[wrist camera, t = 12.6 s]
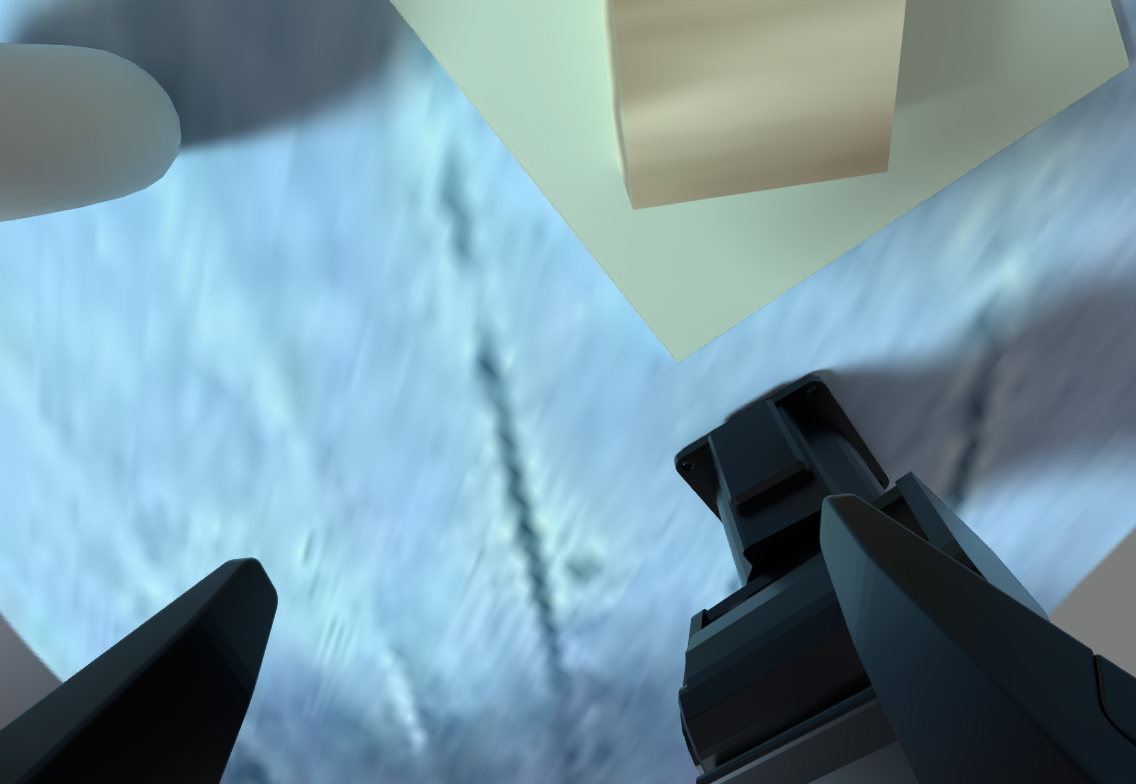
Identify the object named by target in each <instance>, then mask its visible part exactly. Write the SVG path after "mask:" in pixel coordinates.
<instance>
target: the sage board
mask: <svg viewBox="0 0 1136 784" xmlns="http://www.w3.org/2000/svg"><path fill="white" fill-rule="evenodd" d="M390 1H391V3H392V4H393V5H394V7H395V8H396V9H397V10H398V12H399V13H400V14H401V15H402V17H403V18H404V19H405V20H406V22H407V23H408V24H409V25H410V27H411V28H412V29H413V30H414V32H415V33H416V34H417V36H418V37H419V38H420V39H421V41H422V42H423V43H424V44H425V46H426V47H427V48H428V49H429V51H430V52H431V53H432V54H433V56H434V57H435V58H436V60H437V61H438V62H439V63H440V65H441V66H442V67H443V68H444V70H445V71H446V72H447V73H448V75H449V76H450V77H451V78H452V80H453V81H454V82H455V83H456V85H457V86H458V87H459V89H460V90H461V91H462V92H463V94H464V95H465V96H466V97H467V99H468V100H469V101H470V102H471V104H472V105H473V106H474V107H475V109H476V110H477V111H478V112H479V114H480V115H481V116H482V118H483V119H484V120H485V121H486V123H487V124H488V125H489V126H490V128H491V129H492V130H493V131H494V133H495V134H496V135H497V136H498V138H499V139H500V140H501V141H502V143H503V144H504V145H505V147H506V148H507V149H508V150H509V152H510V153H511V154H512V155H513V157H514V158H515V159H516V160H517V162H518V163H519V164H520V165H521V167H522V168H523V169H524V170H525V172H526V173H527V174H528V176H529V177H530V178H531V179H532V181H533V182H534V183H535V184H536V186H537V187H538V188H539V189H540V191H541V192H542V193H543V194H544V196H545V197H546V198H547V199H548V201H549V202H550V203H551V205H552V206H553V207H554V208H555V210H556V211H557V212H558V213H559V215H560V216H561V217H562V218H563V220H564V221H565V222H566V223H567V225H568V226H569V227H570V229H571V230H572V231H573V232H574V234H575V235H576V236H577V237H578V239H579V240H580V241H581V242H582V244H583V245H584V246H585V247H586V249H587V250H588V251H589V252H590V254H591V255H592V256H593V258H594V259H595V260H596V261H597V263H598V264H599V265H600V266H601V268H602V269H603V270H604V271H605V273H606V274H607V275H608V276H609V278H610V279H611V280H612V281H613V283H614V284H615V285H616V287H617V288H618V289H619V290H620V292H621V293H622V294H623V295H624V297H625V298H626V299H627V300H628V302H629V303H630V304H631V305H632V307H633V308H634V309H635V310H636V312H637V313H638V314H639V316H640V317H641V318H642V319H643V321H644V322H645V323H646V324H647V326H648V327H649V328H650V329H651V331H652V332H653V333H654V334H655V336H656V337H657V338H658V339H659V341H660V342H661V343H662V345H663V346H664V347H665V348H666V350H667V351H668V352H669V353H670V355H671V356H672V357H673V358H674V360H675V361H676V362H677V363H678V362H680V361H681V360H683V359H685V358H686V357H688V356H689V355H691V354H692V353H694V352H695V351H697V350H698V349H700V348H701V347H703V346H704V345H706V344H707V343H709V342H710V341H712V340H713V339H715V338H717V337H718V336H720V335H721V334H723V333H724V332H726V331H727V330H729V329H730V328H732V327H733V326H735V325H736V324H738V323H739V322H741V321H742V320H744V319H745V318H747V317H749V316H750V315H752V314H753V313H755V312H756V311H758V310H759V309H761V308H762V307H764V306H765V305H767V304H768V303H770V302H771V301H773V300H774V299H776V298H777V297H779V296H781V295H782V294H784V293H785V292H787V291H788V290H790V289H791V288H793V287H794V286H796V285H797V284H799V283H800V282H802V281H803V280H805V279H806V278H808V277H809V276H811V275H813V274H814V273H816V272H817V271H819V270H820V269H822V268H823V267H825V266H826V265H828V264H829V263H831V262H832V261H834V260H835V259H837V258H838V257H840V256H841V255H843V254H845V253H846V252H848V251H849V250H851V249H852V248H854V247H855V246H857V245H858V244H860V243H861V242H863V241H864V240H866V239H867V238H869V237H870V236H872V235H873V234H875V233H877V232H878V231H880V230H881V229H883V228H884V227H886V226H887V225H889V224H890V223H892V222H893V221H895V220H896V219H898V218H899V217H901V216H902V215H904V214H905V213H907V212H909V211H910V210H912V209H913V208H915V207H916V206H918V205H919V204H921V203H922V202H924V201H925V200H927V199H928V198H930V197H931V196H933V195H934V194H936V193H937V192H939V191H941V190H942V189H944V188H945V187H947V186H948V185H950V184H951V183H953V182H954V181H956V180H957V179H959V178H960V177H962V176H963V175H965V174H966V173H968V172H969V171H971V170H973V169H974V168H976V167H977V166H979V165H980V164H982V163H983V162H985V161H986V160H988V159H989V158H991V157H992V156H994V155H995V154H997V153H998V152H1000V151H1001V150H1003V149H1005V148H1006V147H1008V146H1009V145H1011V144H1012V143H1014V142H1015V141H1017V140H1018V139H1020V138H1021V137H1023V136H1024V135H1026V134H1027V133H1029V132H1030V131H1032V130H1034V129H1035V128H1037V127H1038V126H1040V125H1041V124H1043V123H1044V122H1046V121H1047V120H1049V119H1050V118H1052V117H1053V116H1055V115H1056V114H1058V113H1059V112H1061V111H1062V110H1064V109H1066V108H1067V107H1069V106H1070V105H1072V104H1073V103H1075V102H1076V101H1078V100H1079V99H1081V98H1082V97H1084V96H1085V95H1087V94H1088V93H1090V92H1091V91H1093V90H1094V89H1096V88H1098V87H1099V86H1101V85H1102V84H1104V83H1105V82H1107V81H1108V80H1110V79H1111V78H1113V77H1114V76H1116V75H1117V74H1119V73H1120V72H1122V71H1123V70H1125V69H1126V68H1128V67H1130V64H1129V61H1128V57H1127V54H1126V50H1125V47H1124V44H1123V40H1122V37H1121V33H1120V30H1119V27H1118V23H1117V20H1116V17H1115V13H1114V10H1113V6H1112V3H1111V0H906V8H905V17H904V26H903V35H902V44H901V53H900V63H899V72H898V81H897V90H896V99H895V108H894V117H893V126H892V136H891V145H890V154H889V163H888V172H883V173H877V174H870V175H863V176H857V177H850V178H843V179H837V180H830V181H823V182H817V183H810V184H803V185H797V186H790V187H783V188H777V189H770V190H763V191H757V192H750V193H743V194H736V195H730V196H723V197H716V198H710V199H703V200H696V201H690V202H683V203H676V204H670V205H663V206H656V207H650V208H643V209H636V210H633V208H632V205H631V202H630V199H629V197H628V194H627V191H626V188H625V185H624V182H623V179H622V176H621V173H620V170H619V168H618V159H617V150H616V140H615V130H614V121H613V111H612V101H611V92H610V82H609V72H608V63H607V53H606V44H605V34H604V24H603V15H602V5H601V0H390Z"/></svg>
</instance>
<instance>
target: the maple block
mask: <svg viewBox="0 0 1136 784" xmlns="http://www.w3.org/2000/svg"><path fill="white" fill-rule="evenodd" d="M601 5H602V15H603V24H604V34H605V44H606V53H607V63H608V72H609V82H610V92H611V101H612V111H613V121H614V130H615V140H616V150H617V159H618V168H619V170H620V173H621V176H622V179H623V182H624V185H625V188H626V191H627V194H628V197H629V199H630V202H631V205H632V208H633V210H636V209H643V208H650V207H656V206H663V205H670V204H676V203H683V202H690V201H696V200H703V199H710V198H716V197H723V196H730V195H736V194H743V193H750V192H757V191H763V190H770V189H777V188H783V187H790V186H797V185H803V184H810V183H817V182H823V181H830V180H837V179H843V178H850V177H857V176H863V175H870V174H877V173H883V172H888V163H889V154H890V145H891V136H892V126H893V117H894V108H895V99H896V90H897V81H898V72H899V63H900V53H901V44H902V35H903V26H904V17H905V8H906V0H601Z"/></svg>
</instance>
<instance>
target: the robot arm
mask: <svg viewBox="0 0 1136 784" xmlns="http://www.w3.org/2000/svg"><path fill="white" fill-rule="evenodd" d="M811 387H816V390H814V391H813V392H811V393H807V390H808V389H809V388H811ZM686 461H692V463H691V464H689V465H683V463H684V462H686ZM674 463H675V467H676V470H677V472H678V473H679V474H680V475H681V476H682V477H683V479H684V480H685V481H686V482H687V483H688V484H689V485H690V487H691V488H692V489H693V490H694V491H695V492H696V493H697V495H698V496H699V497H700V498H701V499H702V500H703V501H704V502H705V504H706V505H707V506H708V507H709V508H710V509H711V510H712V512H713V513H714V514H715V515H716V516H717V517H718V518H719V520H720V521H721V522H722V523H723V526H724V529H725V532H726V536H727V539H728V542H729V545H730V549H731V552H732V555H733V558H734V562H735V565H736V568H737V571H738V575H739V578H740V581H741V585H742V588H741V589H739V590H738V591H736V592H735V593H733V594H732V595H730V596H729V597H727V598H726V599H724V600H723V601H721V602H720V603H718V604H717V605H715V606H714V607H712V608H711V609H709V610H708V611H707V610H706V609H703V610H702V611H700V612H699V613H697V614H696V615H694V616H693V617H692V618H691V626H690V634H689V642H688V648H687V650H686V653H685V655H686V665H685V673H684V681H683V687H681V688H680V690H679V698H678V703H679V707H680V711H681V713H680V717H681V723H682V732H683V735H684V737H685V740H686V744H687V747H688V750H689V752H690V755H691V757H692V759H693V762H694V764H695V766H696V768H697V770H698V772H699V774H700V776H698V777H697V779H696V784H1136V678H1135V677H1134V676H1132V675H1131V674H1129V673H1127V672H1126V671H1124V670H1123V669H1121V668H1120V667H1118V666H1117V665H1115V664H1114V663H1112V662H1111V661H1109V660H1108V659H1106V658H1105V657H1103V656H1102V655H1098V654H1096V655H1094V654H1093V651H1092V650H1091V649H1090V648H1089V647H1087V646H1086V645H1084V644H1083V643H1081V642H1080V641H1078V640H1077V639H1075V638H1073V637H1072V636H1071V635H1069V634H1068V633H1066V632H1064V631H1063V630H1061V629H1060V628H1058V627H1056V626H1055V625H1054V624H1052V623H1051V622H1050V620H1049V618H1048V616H1047V615H1046V613H1045V611H1044V610H1043V609H1042V607H1041V606H1040V605H1039V604H1038V603H1037V602H1036V600H1035V599H1034V598H1033V597H1032V596H1031V595H1030V593H1029V592H1028V591H1027V590H1026V589H1025V588H1024V587H1023V585H1022V584H1021V583H1020V582H1019V581H1018V580H1017V578H1016V577H1015V576H1014V575H1013V574H1012V573H1011V572H1010V570H1009V569H1008V568H1007V567H1006V566H1005V565H1004V563H1003V562H1002V561H1001V560H1000V559H999V558H998V556H997V555H996V554H995V553H994V552H993V551H992V550H991V549H990V548H989V547H988V546H987V545H986V544H985V543H984V542H983V541H982V540H981V539H980V538H979V537H978V536H977V535H976V534H975V533H974V532H973V531H972V530H971V529H970V528H969V527H968V526H967V525H966V524H965V523H964V522H963V521H962V520H961V519H960V518H958V517H957V516H956V515H955V514H954V513H953V512H952V511H951V510H950V509H949V508H948V507H947V506H946V505H945V504H944V503H943V502H942V501H941V500H940V499H939V498H938V497H937V496H936V495H935V494H934V493H933V492H932V491H931V490H930V489H929V488H928V487H927V486H926V485H924V484H923V483H922V482H921V481H920V480H919V479H918V478H917V477H916V476H915V475H914V474H913V473H912V472H909V473H908V474H906V475H905V476H903V477H902V478H900V479H899V480H897V481H896V482H895V483H896V486H895V487H893V488H892V489H890V490H889V491H887V492H885V491H884V490H885V489H886V488H887V487H888V485H889V479H888V477H887V476H886V474H885V473H884V471H883V470H882V468H881V467H880V465H879V464H878V462H877V461H876V459H875V458H874V456H873V455H872V453H871V452H870V451H869V449H868V448H867V446H866V445H865V443H864V442H863V440H862V439H861V437H860V436H859V434H858V433H857V431H856V430H855V428H854V427H853V425H852V424H851V422H850V421H849V419H848V418H847V416H846V415H845V413H844V412H843V410H842V409H841V407H840V406H839V404H838V403H837V401H836V400H835V398H834V397H833V395H832V394H831V392H830V391H829V389H828V388H827V386H826V385H825V384H824V382H823V381H822V380H821V379H820V378H819V377H817V376H807V377H805V378H803V379H801V380H799V381H798V382H796V383H794V384H793V385H791V386H789V387H788V388H786V389H784V390H783V391H781V392H779V393H778V394H776V395H774V396H773V397H771V398H769V399H768V400H766V401H762V402H760V403H759V404H757V405H755V406H754V407H752V408H750V409H749V410H747V411H745V412H744V413H742V414H740V415H739V416H737V417H735V418H734V419H732V420H730V421H729V422H727V423H725V424H724V425H722V426H720V427H719V428H717V429H715V430H714V431H712V432H711V433H710V434H709V435H707V436H706V437H704V438H702V439H701V440H699V441H697V442H696V443H694V444H692V445H691V446H689V447H687V448H686V449H684V450H682V451H681V452H679V453H678V454H677V455H676V457H675V459H674ZM877 479H878V480H877ZM277 605H278V596H277V592H276V589H275V587H274V586H273V584H272V582H271V580H270V579H269V577H268V575H267V573H266V572H265V570H264V568H263V566H262V565H261V563H260V562H259V561H258V560H257V559H255V558H241V559H233V560H229V561H227V562H226V563H224V564H223V565H221V566H220V567H219V568H217V569H216V570H215V571H213V572H212V573H211V574H209V575H208V576H207V577H205V578H204V579H203V580H201V581H200V582H199V583H197V584H196V585H195V586H193V587H192V588H190V589H189V590H188V591H186V592H185V593H184V594H182V595H181V596H180V597H178V598H177V599H176V600H174V601H173V602H172V603H170V604H169V605H168V606H166V607H165V608H164V609H162V610H161V611H160V612H158V613H157V614H156V615H154V616H153V617H152V618H150V619H149V620H147V621H146V622H145V623H143V624H142V625H141V626H139V627H138V628H137V629H135V630H134V631H133V632H131V633H130V634H129V635H127V636H126V637H125V638H123V639H122V640H121V641H119V642H118V643H117V644H115V645H114V646H113V647H111V648H110V649H108V650H107V651H106V652H104V653H103V654H102V655H100V656H99V657H98V658H96V659H95V660H94V661H92V662H91V663H90V664H88V665H87V666H86V667H84V668H83V669H82V670H80V671H79V672H78V673H76V674H75V675H74V676H72V677H71V678H69V679H68V680H67V681H65V682H64V683H63V684H61V685H60V686H59V687H57V688H56V689H55V690H53V691H52V692H51V693H49V694H48V695H47V696H45V697H44V698H43V699H41V700H40V701H39V702H37V703H36V704H35V705H33V706H32V707H31V708H29V709H28V710H26V711H25V712H24V713H22V714H21V715H20V716H18V717H17V718H16V719H14V720H13V721H12V722H10V723H9V724H8V725H6V726H5V727H4V728H2V729H1V730H0V784H219V783H220V781H221V778H222V775H223V773H224V770H225V768H226V765H227V762H228V760H229V757H230V755H231V752H232V749H233V747H234V744H235V741H236V739H237V736H238V734H239V731H240V728H241V726H242V723H243V721H244V718H245V715H246V713H247V710H248V707H249V704H250V701H251V699H252V695H253V692H254V689H255V686H256V682H257V679H258V675H259V671H260V668H261V664H262V661H263V657H264V653H265V650H266V646H267V642H268V639H269V635H270V631H271V628H272V624H273V621H274V617H275V613H276V610H277Z"/></svg>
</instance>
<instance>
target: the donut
mask: <svg viewBox="0 0 1136 784" xmlns="http://www.w3.org/2000/svg"><path fill="white" fill-rule="evenodd" d="M181 137H182V135H181V128H180V121H179V115H178V113H177V111H176V109H175V107H174V105H173V103H172V101H171V99H170V97H169V95H168V94H167V93H166V91H165V90H164V89H163V88H162V87H161V86H160V84H159V83H158V82H157V81H156V80H155V79H154V77H153V76H151V75H150V74H149V73H147V72H146V71H144V70H143V69H142V68H140V67H139V66H138V65H136V64H135V63H133V62H132V61H131V60H128V59H126V58H123V57H121V56H118V55H116V54H113V53H111V52H108V51H106V50H101V49H94V48H86V47H79V46H71V45H51V44H14V43H0V222H3V221H10V220H16V219H21V218H27V217H32V216H37V215H43V214H48V213H54V212H59V211H64V210H70V209H75V208H80V207H84V206H88V205H92V204H96V203H100V202H104V201H109V200H113V199H117V198H121V197H124V196H127V195H129V194H132V193H135V192H137V191H140V190H142V189H145V188H147V187H149V186H150V185H152V184H153V183H155V182H156V181H158V180H159V179H161V178H162V177H163V176H164V175H165V173H166V172H167V170H168V169H169V167H170V166H171V164H172V163H173V161H174V160H175V158H176V157H177V155H178V152H179V147H180V142H181Z"/></svg>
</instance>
